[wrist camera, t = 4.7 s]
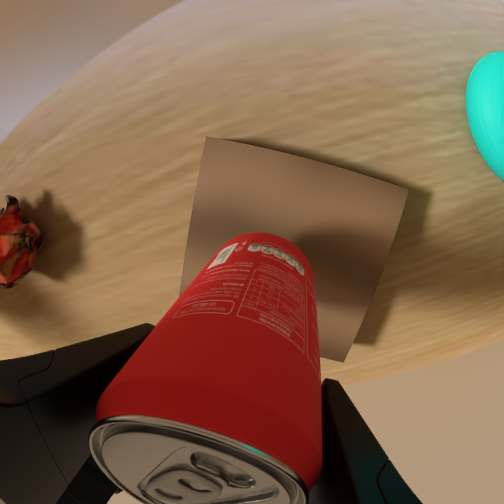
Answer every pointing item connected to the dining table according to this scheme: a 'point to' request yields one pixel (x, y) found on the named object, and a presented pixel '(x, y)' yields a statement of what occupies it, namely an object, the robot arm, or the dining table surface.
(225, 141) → the walnut plinth
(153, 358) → the beverage can
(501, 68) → the donuts
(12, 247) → the dragon fruit
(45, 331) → the dining table surface
